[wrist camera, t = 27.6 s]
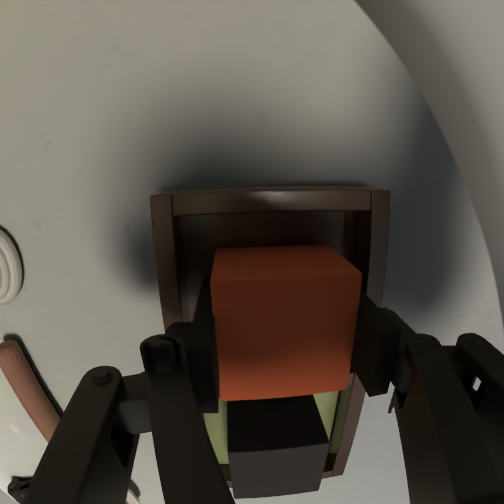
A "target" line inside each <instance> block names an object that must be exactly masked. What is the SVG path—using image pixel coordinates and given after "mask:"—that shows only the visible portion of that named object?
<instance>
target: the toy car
mask: <svg viewBox="0 0 504 504" xmlns="http://www.w3.org/2000/svg"><path fill="white" fill-rule="evenodd" d="M31 481H32V479H20V478H18V479H17V478H14V479H13V480H12V481H11V483H10V484H9V485H8V493H9V494H10V495H11V496H12V497H13V498H14V499H15V500H16V501H17V502H19V503H20V504H22V502H23V500H24V497H25V495H26V492H27V490H28V488H29V485H30V483H31Z"/></svg>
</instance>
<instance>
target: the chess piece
mask: <svg viewBox="0 0 504 504" xmlns="http://www.w3.org/2000/svg"><path fill="white" fill-rule="evenodd" d="M21 284H22V267H21V262H20V258H19V255H18V252H17V250H16V248H15V246H14V244H13V242H12V241H11V239H10V238H9V237H8V235H7V234H6V233H4V232H3V231H2V230H0V304H7V303H10V302H11V301H13V300H14V299H15V297H16V296H17V294H18V293H19V291H20V288H21Z"/></svg>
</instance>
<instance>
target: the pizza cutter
mask: <svg viewBox="0 0 504 504" xmlns="http://www.w3.org/2000/svg"><path fill="white" fill-rule="evenodd" d="M0 367H1V369H2V371H3V373H4V375H5V376H6V378H7V380H8V382H9V384H10V385H11V387H12V389H13V391H14V392H15V394H16V396H17V397H18V399H19V400H20V402H21V404H22V405H23V407H24V408H25V410H26V412H27V413H28V415H29V416H30V418H31V419H32V421H33V422H34V424H35V425H36V426H37V428H38V429H39V431H40V432H41V433H42V435H43V436H44V438H45V439H46V440H47V442H48V443H49V441H50V439H51V437H52V435H53V433H54V431H55V429H56V427H57V425H58V423H59V421H60V419H61V418H60V417H59V415H58V414H57V412H56V411H55V409H54V407H53V406H52V404H51V403H50V401H49V399H48V398H47V396H46V394H45V393H44V391H43V389H42V387H41V386H40V384H39V382H38V380H37V379H36V377H35V375H34V373H33V371H32V369H31V367H30V365H29V364H28V362H27V360H26V358H25V356H24V354H23V352H22V350H21V347H20V346H19V344H18V343H17V342H16V341H15V340H7V341H5V342H3V343H1V344H0ZM126 504H140V502H139V499H138V498H137V497H136V496H135V494H134V493H133V492H132V491H131V490H130V489H129V488H128V494H127V499H126Z"/></svg>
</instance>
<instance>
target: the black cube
mask: <svg viewBox="0 0 504 504" xmlns="http://www.w3.org/2000/svg"><path fill="white" fill-rule="evenodd" d="M329 445H330V441H329V439H328V436H327V433H326V430H325V427H324V424H323V421H322V418H321V416H320V413H319V410H318V407H317V404H316V401H315V398H314V396H313V394H310V395H302V396H292V397H282V398H269V399H255V400H235V401H227V452H228V460H229V467H230V474H231V481H232V488H233V494H234V498H235V499H241V498H259V497H272V496H282V495H290V494H298V493H305V492H312V491H318V490H319V486H320V483H321V479H322V475H323V471H324V467H325V462H326V458H327V454H328V449H329Z"/></svg>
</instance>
